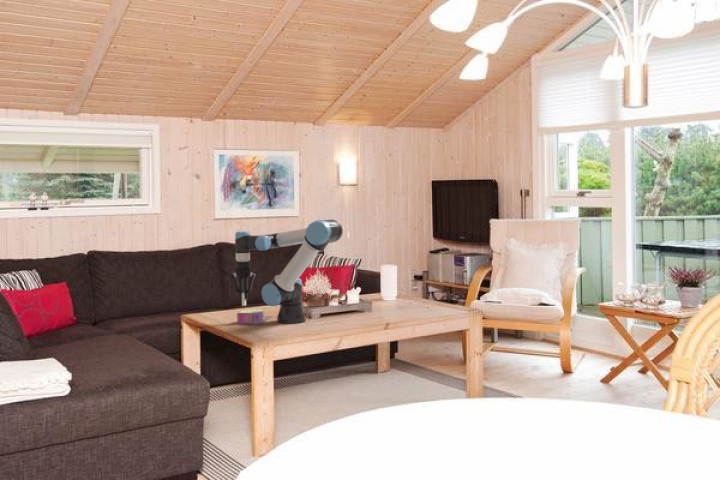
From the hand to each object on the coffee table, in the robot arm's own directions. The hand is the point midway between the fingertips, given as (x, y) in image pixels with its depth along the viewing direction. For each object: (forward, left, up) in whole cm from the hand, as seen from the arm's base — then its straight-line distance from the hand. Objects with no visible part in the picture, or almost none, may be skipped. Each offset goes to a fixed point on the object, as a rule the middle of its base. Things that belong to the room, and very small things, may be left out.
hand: (244, 305), depth 387 cm
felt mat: (-4, -6, -9) cm, 12 cm away
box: (+2, 0, -6) cm, 6 cm away
